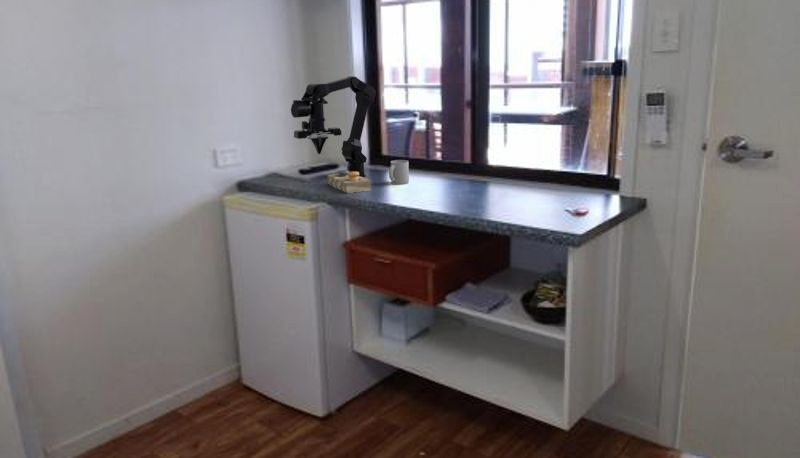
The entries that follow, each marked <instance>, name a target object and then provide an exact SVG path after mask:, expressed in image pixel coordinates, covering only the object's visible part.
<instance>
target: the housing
mask: <svg viewBox="0 0 800 458" xmlns="http://www.w3.org/2000/svg"><path fill="white" fill-rule="evenodd" d="M371 181H372V180H371V179H368V178H365V177H361V176H358V181H349V176H348V177H339V174H338V173H337V174H335V173H334V174H327V184H329V185H328V186H330V185H331V186H330V187H332V186H333V187H332V188H334V187H335V188H334V189H336V188H337V190H338V189H339V191H341V190H342V191H341V192H343V191H344V192H343V193H345V192H346V193H345V194H347V193H348V194H354V192H356V193H361V192H362V191H363V192H369V191H371V190H372V189H371V188H372V186H371V185H372V184H371Z"/></svg>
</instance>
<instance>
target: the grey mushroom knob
mask: <svg viewBox="0 0 800 458" xmlns="http://www.w3.org/2000/svg"><path fill="white" fill-rule="evenodd" d="M348 172H349V170H347V169H341V170H338V171H337V174H339V177H348V176H347V173H348Z"/></svg>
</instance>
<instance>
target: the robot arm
mask: <svg viewBox="0 0 800 458" xmlns="http://www.w3.org/2000/svg"><path fill="white" fill-rule="evenodd" d="M349 88H350V90H351V91H352V93H354V94H355V97H354V99H355V104H356V107H355V112H354V115H353V121H352V124H351V129H350V134H349V137H348V139H346V140H343V141H342V146H341V149H340V150H341V155H342V156H343V158H344V160H345V162H347V166H346V170H349V172H359V175H358V176H361V177H363V178H365V177H367V175H366V174H365V163H366V162H367V156H366V155H364V154H363V152H362V151H363V145H362V140H361V139H362V135H363V130H364V126H365V122H366V118H367V113H368V109H369V106H371V105H372V103H373V102H374V100H375V97H376V90H375V88H374V87H373V86H372V85H369V84H368V83H367V82H364V81H362V80H361V79H359V78H358V77H357V76H347V77H344V78H340V79H337V80H334V81H329V82H326V83H325V82H324V83H309V84H307V86H306V89H305V92H304V94H303V96H302V98H301V99H299V100H298V99H294V100H293V101H292V104H291V108H290V113H291V116H292V117H293V118H295V119H296V118H297V119H298V118H305V117H306V118H307V117H309V118H308V121H307V120H305V121H304V120H303V121H301V129H299V130H295V131H294V132H293V138H294V139H299V140H301V139H308V140H311V142H312V144H313V145H314V148H315V151H316V153H317V155H321V153H322V151H323V148H324V146H325V143H326V141H327V140H328V139H329V136H328V135H333V136H342V130H341V128H340V127H336V126H334V127H328V128H325V127H326V126H325V121H326V118H325V112H324V105H325V104H326V105H327V104H329V102H328V101H327V100H326V99H325V97H327V96H328V95H329V94H331V93H333V92H336V91H340V90H344V89H349Z"/></svg>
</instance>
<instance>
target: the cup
mask: <svg viewBox="0 0 800 458" xmlns="http://www.w3.org/2000/svg"><path fill="white" fill-rule="evenodd" d="M409 167H410V165H409V160H407V159H406V160H405V159H395V160H391V161H390V167H389V170H388V177H389V180H390V181H391V183H392V185H398V186H399V185H400V186H401V185H403V186H404V185H407V184H409V181H410V172H409V171H410V170H409V169H410V168H409Z"/></svg>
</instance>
